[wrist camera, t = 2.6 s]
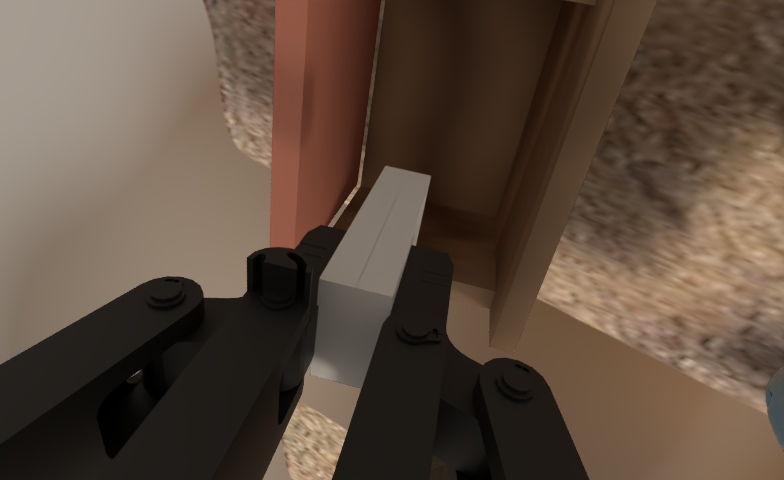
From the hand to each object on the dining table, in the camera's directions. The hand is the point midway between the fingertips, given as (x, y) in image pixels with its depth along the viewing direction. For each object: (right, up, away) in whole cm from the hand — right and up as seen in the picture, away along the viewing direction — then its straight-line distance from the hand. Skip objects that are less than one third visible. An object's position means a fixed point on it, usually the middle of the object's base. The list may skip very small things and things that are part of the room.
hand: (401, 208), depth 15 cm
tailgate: (-2, +9, +14) cm, 17 cm away
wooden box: (+6, +12, +21) cm, 25 cm away
